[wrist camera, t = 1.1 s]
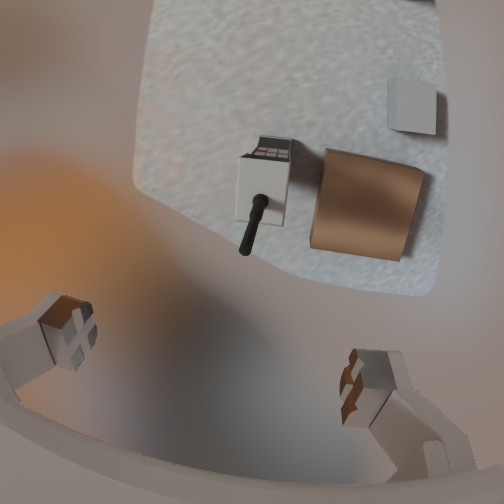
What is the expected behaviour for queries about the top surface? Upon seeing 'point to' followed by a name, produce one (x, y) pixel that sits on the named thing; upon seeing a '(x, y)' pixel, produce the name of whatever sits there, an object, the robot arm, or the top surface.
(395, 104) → the grey plastic box
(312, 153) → the top surface
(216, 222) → the top surface
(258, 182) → the vintage mobile phone
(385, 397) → the robot arm
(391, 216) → the walnut stand
